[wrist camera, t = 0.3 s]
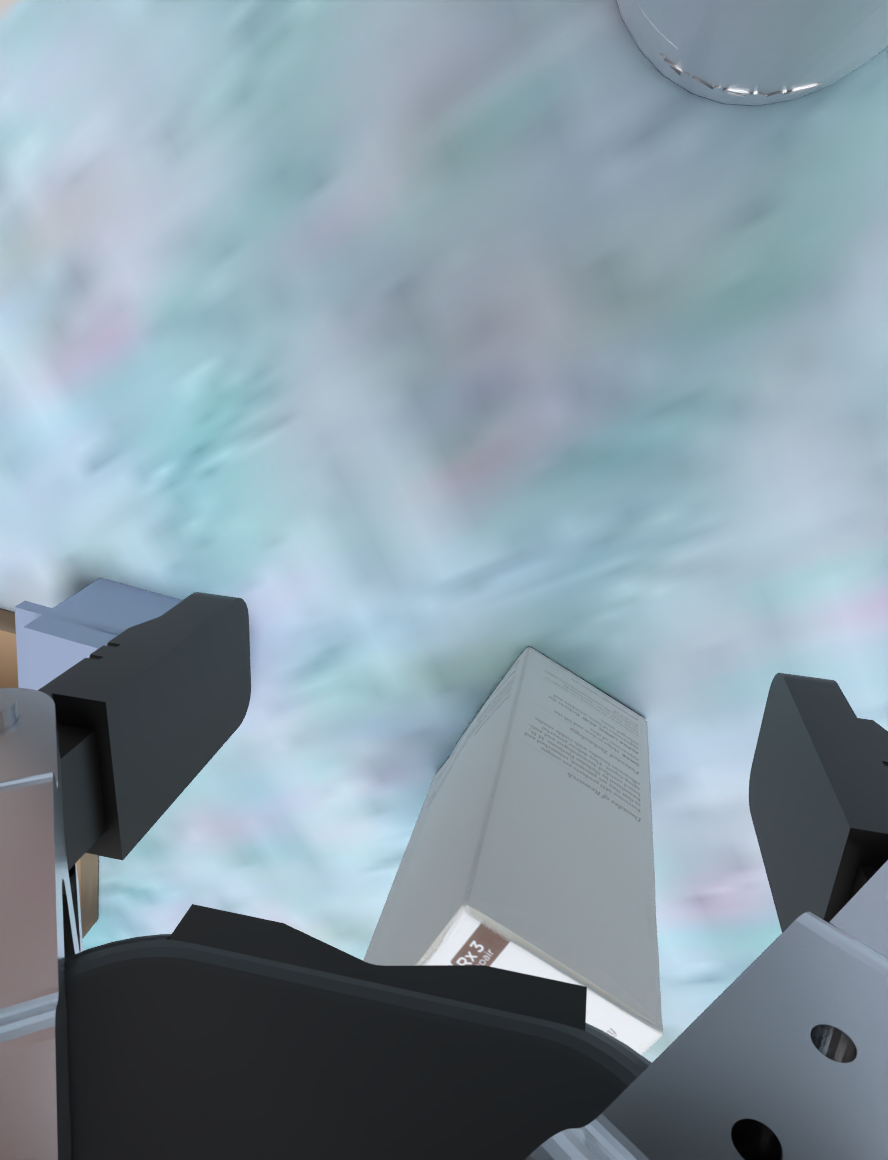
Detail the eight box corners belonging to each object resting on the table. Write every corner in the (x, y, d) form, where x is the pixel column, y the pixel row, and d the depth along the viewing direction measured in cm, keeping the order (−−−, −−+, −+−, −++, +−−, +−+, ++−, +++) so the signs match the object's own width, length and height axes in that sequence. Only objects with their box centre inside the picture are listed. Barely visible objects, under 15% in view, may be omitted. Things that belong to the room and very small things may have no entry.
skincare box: (542, 839, 35) (493, 1210, 21) (426, 770, 35) (303, 1099, 21) (655, 708, 31) (682, 1055, 18) (526, 630, 31) (454, 920, 18)
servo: (76, 570, 34) (-21, 628, 29) (255, 619, 33) (188, 688, 28) (77, 648, 36) (-15, 715, 31) (247, 696, 35) (182, 775, 30)
